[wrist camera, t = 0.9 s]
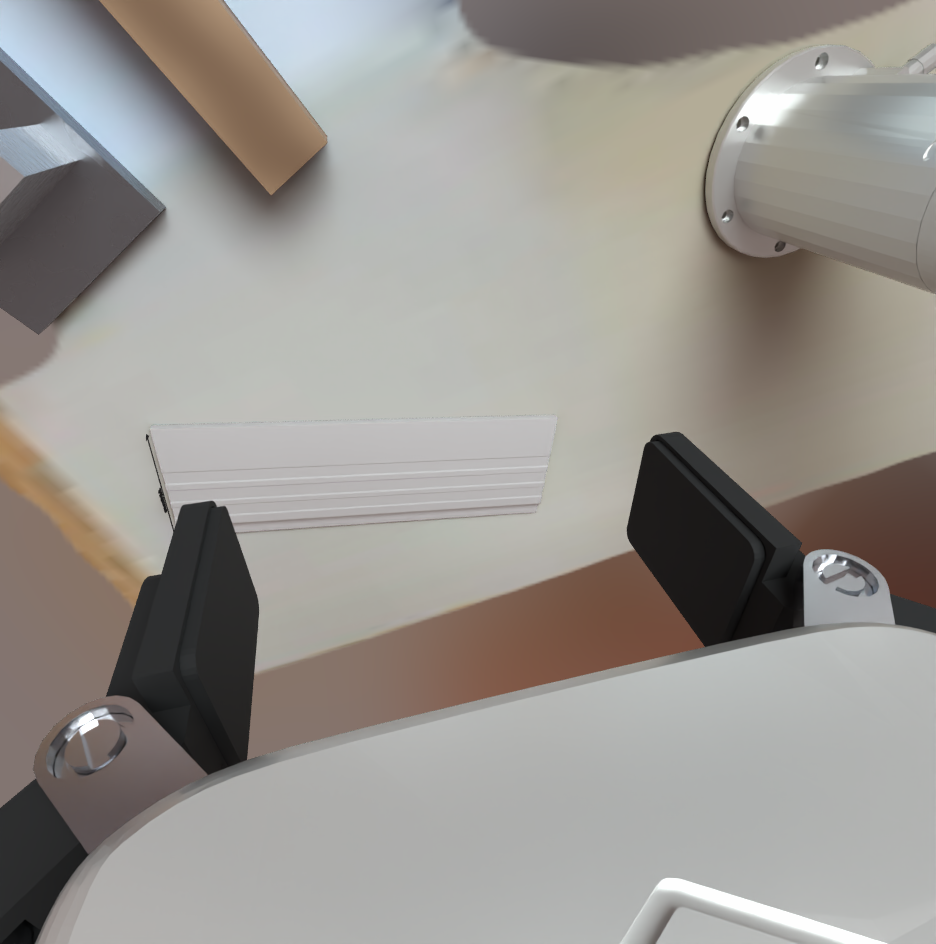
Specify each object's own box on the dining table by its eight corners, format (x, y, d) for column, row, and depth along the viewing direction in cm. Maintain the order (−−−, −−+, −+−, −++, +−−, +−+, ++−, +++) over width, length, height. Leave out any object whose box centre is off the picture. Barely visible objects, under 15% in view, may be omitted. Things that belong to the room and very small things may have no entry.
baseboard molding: (530, 517, 53) (551, 409, 47) (539, 537, 51) (563, 425, 44) (186, 541, 46) (153, 418, 40) (179, 565, 44) (143, 439, 37)
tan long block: (52, -226, 23) (-6, -292, 19) (327, 135, 32) (327, 142, 28) (-8, -149, 24) (-75, -197, 20) (277, 182, 33) (271, 195, 29)
